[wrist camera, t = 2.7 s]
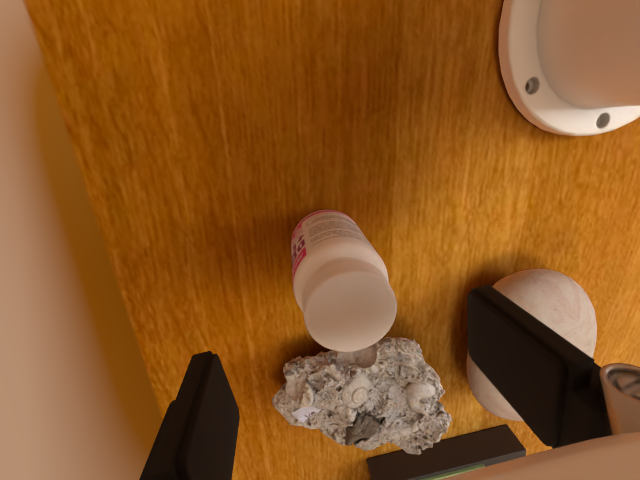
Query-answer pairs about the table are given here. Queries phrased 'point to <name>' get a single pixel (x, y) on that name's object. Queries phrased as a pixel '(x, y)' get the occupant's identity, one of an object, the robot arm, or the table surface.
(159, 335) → the table surface
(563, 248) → the table surface
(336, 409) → the mineral specimen
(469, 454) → the scale
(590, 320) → the decorative stone
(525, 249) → the table surface
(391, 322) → the pill bottle
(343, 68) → the table surface
